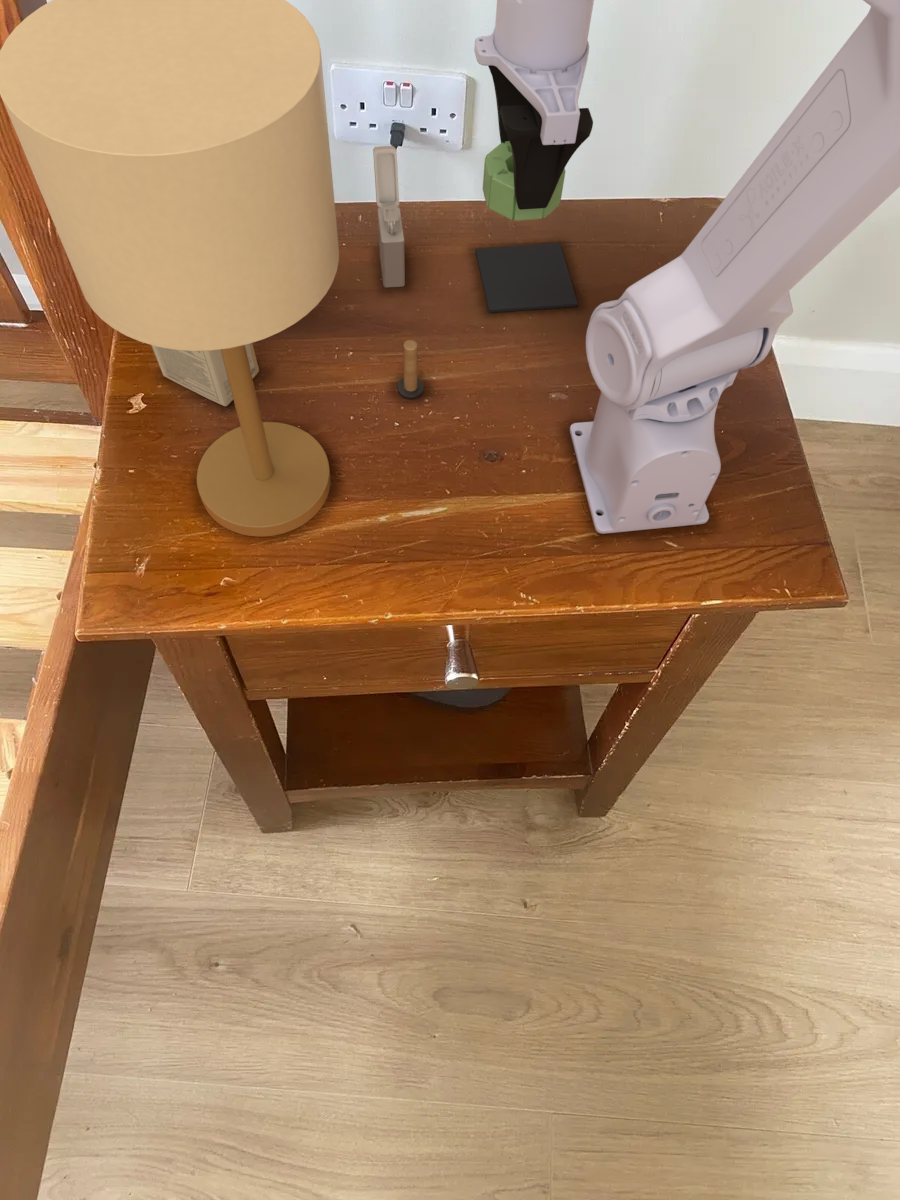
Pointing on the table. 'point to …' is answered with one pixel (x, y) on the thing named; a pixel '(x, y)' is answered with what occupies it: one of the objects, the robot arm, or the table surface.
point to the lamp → (191, 200)
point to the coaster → (525, 277)
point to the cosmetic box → (201, 371)
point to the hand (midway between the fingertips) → (524, 177)
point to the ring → (510, 187)
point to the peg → (410, 373)
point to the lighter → (389, 216)
